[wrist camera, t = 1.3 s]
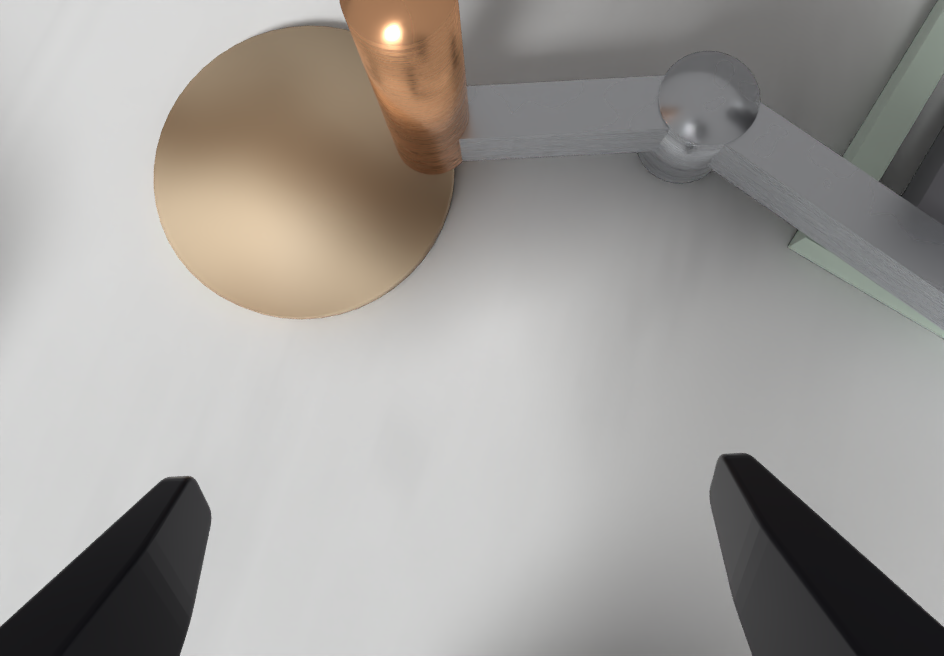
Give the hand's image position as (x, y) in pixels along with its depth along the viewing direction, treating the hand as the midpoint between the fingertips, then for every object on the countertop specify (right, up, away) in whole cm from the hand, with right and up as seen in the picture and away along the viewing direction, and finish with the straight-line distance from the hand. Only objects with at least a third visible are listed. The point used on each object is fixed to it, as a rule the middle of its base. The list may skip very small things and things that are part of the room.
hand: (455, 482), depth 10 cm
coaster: (-5, +8, +12) cm, 15 cm away
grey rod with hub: (+8, +5, +11) cm, 14 cm away
